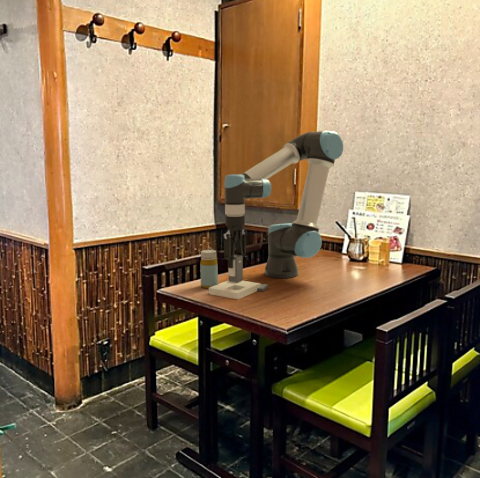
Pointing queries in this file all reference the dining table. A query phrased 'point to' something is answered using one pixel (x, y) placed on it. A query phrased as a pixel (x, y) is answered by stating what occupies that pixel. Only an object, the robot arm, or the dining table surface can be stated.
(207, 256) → the bottle
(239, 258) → the block
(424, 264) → the dining table surface
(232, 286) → the plate
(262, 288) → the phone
